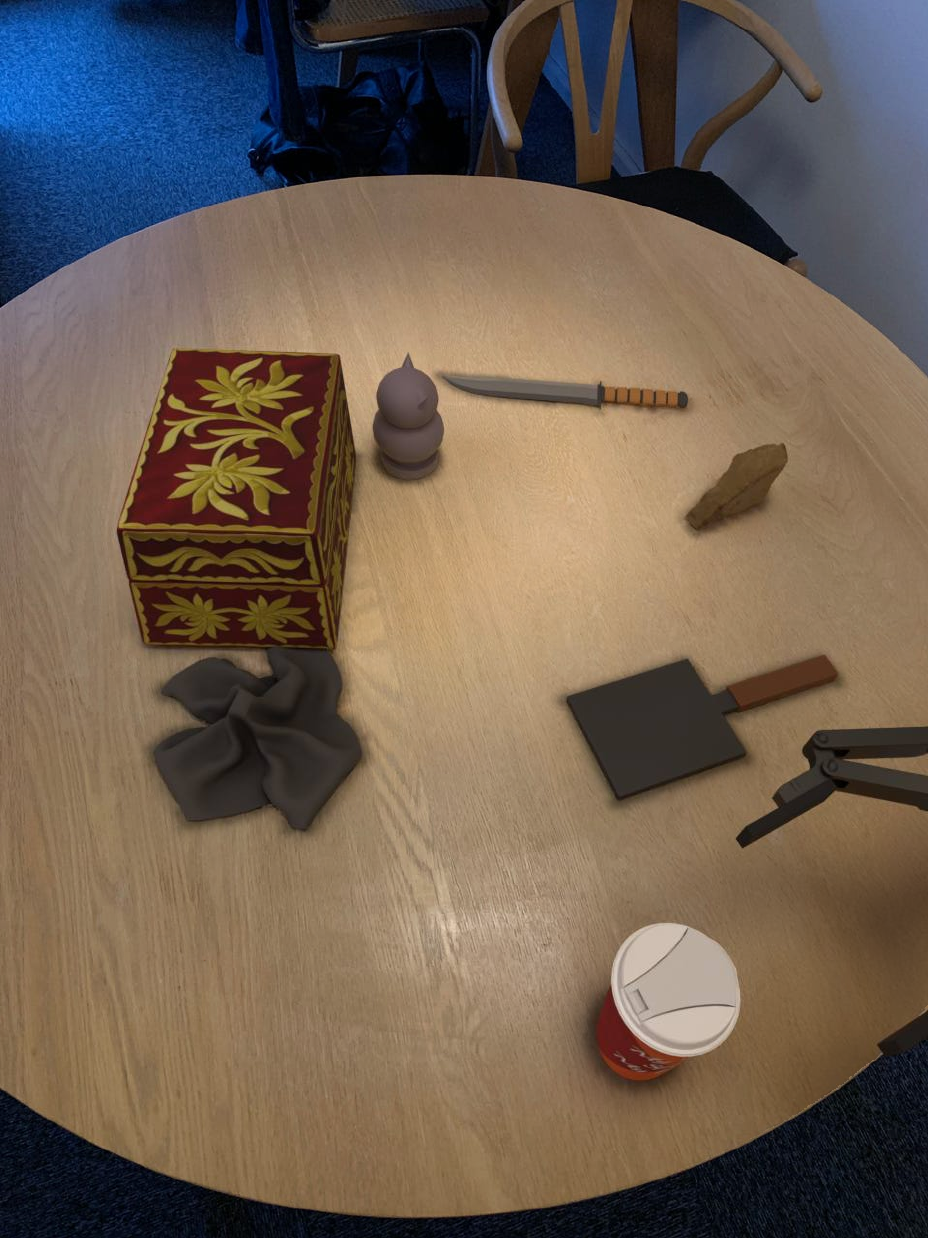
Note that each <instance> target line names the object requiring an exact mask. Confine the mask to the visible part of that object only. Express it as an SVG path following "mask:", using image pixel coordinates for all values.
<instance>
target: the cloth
mask: <svg viewBox="0 0 928 1238" xmlns="http://www.w3.org/2000/svg"><path fill="white" fill-rule="evenodd" d="M265 649H266V654H267V655H266V656H267V661H268V664H269V666H270V667H271V670H272V671H273V675H274V676H270V675H267V676H262V677H258V676H256V675H255V674H253V673H251V672H250V671H247V670H245V669H242V668H239V667H237V665H235V664H234V662H232V661H231V660H230V659H228V658H224V657H222V658H220V659H219V658H217V657H216V656H212V657H211V656H209V657H205V658H202V659H198V660H197V661H196V662H194V663H193V664H191V665H189V666H187V667H186V668H184V669H183V670H181V671H179V672H177V673H176V674H174V675H172V677H170V678H169V679H168V681H167V682H166V684H164V686H163V687H161V690H160V693H161V694H162V695H163V696H165V697H174V698H176V699H177V700H178V701H179V702H180V703H181V705H183V706H184V708H185V709H186V710H187V711H188V712H189V713H190V714H191V715H192V716H193V717H195V718H196V719H199V720H201V721H204V722H207V723H209V724H210V725H207V726H202V727H201V726H200V727H199V726H198V727H191V728H187V729H183V730H181V731H178V732H176V733H173V734H171V735H170V736H168V737H166V738H165V739H164V740H162V741H160V742H159V743H158V744H157V746H155V748H153V755H154V761H155V764H156V767H157V769H158V772H159V774H160V776H161V777H162V779H163V781H164V782H165V784H166V785H167V788H168V790H169V792H170V793H171V795H172V796H173V798H174V799H175V801H176V802H177V803H178V805H179V807H180V809H181V810H182V812H183V813H184V817H185V819H186V820H189V821H205V820H211V819H212V820H213V819H219V818H227V817H231V816H235V815H236V816H237V815H240V814H244V813H248V812H251V811H253V810H256V809H260V808H261V807H264V806H266V805H267V804H268V803H271V804H272V805H273V806H274V807H276V808H277V809H278V810H279V811H281V812H282V813H283V814H284V815H285V816H286V819H287V820H288V822H289V825H290V826H292V827H293V828H296V829H301V830H306V829H308V828H309V826H310V824H311V823H313V820H314V819H315V818H316V816H317V815H318V814H319V812H320V811H321V809H322V808H323V806H324V805H325V804H327V803H326V802H328V800H329V799H330V797H331V796H332V795H333V794H334V793H335V791H336V790H337V788H338V787H339V786H340V785H341V783H342V782H343V780H344V779H345V778H346V777H347V776H348V774H349V773H350V772H351V770H352V769H353V768H354V767H355V766H356V765H357V763H358V762H359V761H360V759H361V758H362V753H363V751H362V748H361V744H360V740H359V738H358V735H357V734H356V731H355V730H354V728H353V727H352V726H351V724H350V723H349V722H348V721H346V720H345V719H344V718H342V717H341V716H340V715H339V713H338V705H339V699H340V695H341V693H342V689H343V678H342V675H341V671H340V669H339V666H338V664H337V661H336V660H335V659H334V657H333V655H332V653H331V652H330V651H329V649H305V648H283V647H271V648H265Z"/></svg>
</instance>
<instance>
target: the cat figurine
mask: <svg viewBox="0 0 928 1238" xmlns="http://www.w3.org/2000/svg"><path fill="white" fill-rule="evenodd" d="M375 395H376V396H375V397H376V404H377V408H378V410H377V411H376V412H375V415H374V418H373V422H372V433H373V438H374V440H375V442H376V445H378V447H379V448H380V450H381V462H382V463H381V464H382V466H383V468H384V470H385V471H386V472H387V473H388V474H390V475H391V476H393V477H395V478H398V479H400V480H406V481H407V480H408V481H410V480H419V479H422V478H425V477H427V476H428V475H430V474H432V473H433V472H434V470H435V469H436V467H437V464H438V457H439V456H438V454H439V452H438V450H439V448H440V447H441V445H442V443H443V439H444V434H445V425H444V421H443V418H442V415H441V414H440V412H439V411H438V406H439V400H440V399H439V393H438V389H437V386H436V384H435V382H434V381H433V380H432V378H431V377H430V376H429V375H428V374H426V373H425V372H424V371H422V370H421V369H418V368H415V366H414V364H413V360H412V358H411V355H410V353H409V352H407V354H406V356H405V357H404V360H403V363H402V365H401V367H397V368H394V369H392V370H391V371H389V372H388V373H386V374H384V376H383V378H381V380H380V381H379V383H378V387H377V390H376V394H375Z"/></svg>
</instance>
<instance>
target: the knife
mask: <svg viewBox="0 0 928 1238" xmlns="http://www.w3.org/2000/svg"><path fill="white" fill-rule="evenodd" d="M441 376H442V377H443V378H444V379H445V381H447V382H449V383H450V384H451V385H452V386H454V387H456V388H458V389H460V390H462V391H465V392H468V393H472V394H477V395H483V396H488V397H497V398H509V399H521V400H522V399H524V400H534V401H535V400H536V401H547V402H549V401H550V402H562V403H573V404H574V403H577V404H587V405H591V406H598V408H599V410H601V409H602V403H603V402H611V403H615V402H616V403H618V404H619V403H620V404H627V403H628V404H631V405H640V404H641V405H642V406H653V405H654V406H660V407H661V406H662V407H665V406H667V407H679V408H681V409H685V408H686V407H688V404H689V396H688V393H686V391H684V390H683V391H682V390H681V391H679V392H678V391H672V390H671V391H670V390H667V391H666V390H661V389H655V390H654V389H652V388H651V389H650V388H642V389H641V388H639V387H637V388H636V387H629V388H628V387H624V386H623V387H622V386H617V387H616V386H604V385H603V384H602V380H600V381H599V384H589V383H578V382H564V381H552V380H538V379H537V380H535V379H524V378H513V377H512V378H510V377H474V376H458V375H443V374H442V375H441Z"/></svg>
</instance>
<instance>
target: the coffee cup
mask: <svg viewBox="0 0 928 1238" xmlns="http://www.w3.org/2000/svg"><path fill="white" fill-rule="evenodd" d="M610 976H611V979H610V985H609V987H608V990H607V993H606V995H605V998H604V1002H603V1004H602V1007H601V1009H600V1012H599V1015H598V1019H597V1024H596V1029H595V1030H596V1032H595V1033H596V1034H595V1035H596V1044H597V1047H598V1050H599V1053H600V1055H601V1057H602V1059H603V1060H604V1062H605V1063H606V1064H607V1065H608V1067H609V1068H610V1069H611V1070H612V1071H614V1072H615V1073H616V1074H618V1075H620V1076H621V1077H623V1078H625V1079H629V1080H632V1081H648V1080H652V1079H655V1078H657V1077H660V1076H662V1075H663V1074H665V1073H666V1072H668V1071H670V1070H671V1069H673V1068H675V1067H676V1066H678V1065H680V1064H681V1063H683V1062H684V1061H687V1060H688V1059H690V1058H691V1057H696V1056H697V1057H698V1056H701V1055H705V1054H706V1053H710V1052H711V1051H713V1050H714V1049H717V1048H718V1047H719V1046H721V1044H722V1043H723V1042H724V1041H726V1040H727V1039H728V1037H729V1036H730V1035H731V1033H732V1032H733V1030H734V1028H735V1026H736V1024H737V1021H738V1019H739V1015H740V1009H741V990H740V983H739V978H738V972H737V968H736V966H735V963H734V962H733V960H732V958H731V957H730V956H729V955H728V952H726V950H725V949H724V948H723V947H722V946H721V944H719V942H717V941H715V940H713V939H712V938H711V937H709V936H707V935H705V934H704V933H702V932H701V931H700V930H697V929H695V928H692V927H691V926H689V925H685V924H681V923H675V922H657V923H651V924H648V925H645V926H644V927H642V928H640V929H638V930H636V931H634V932H633V933H632V934H630V936H628V937H627V938H626V940H624V942H623V943H622V944H621V945H620V947H619V950H618V951H617V952H616V954H615V957H614V960H613V963H612V968H611V975H610Z"/></svg>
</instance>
